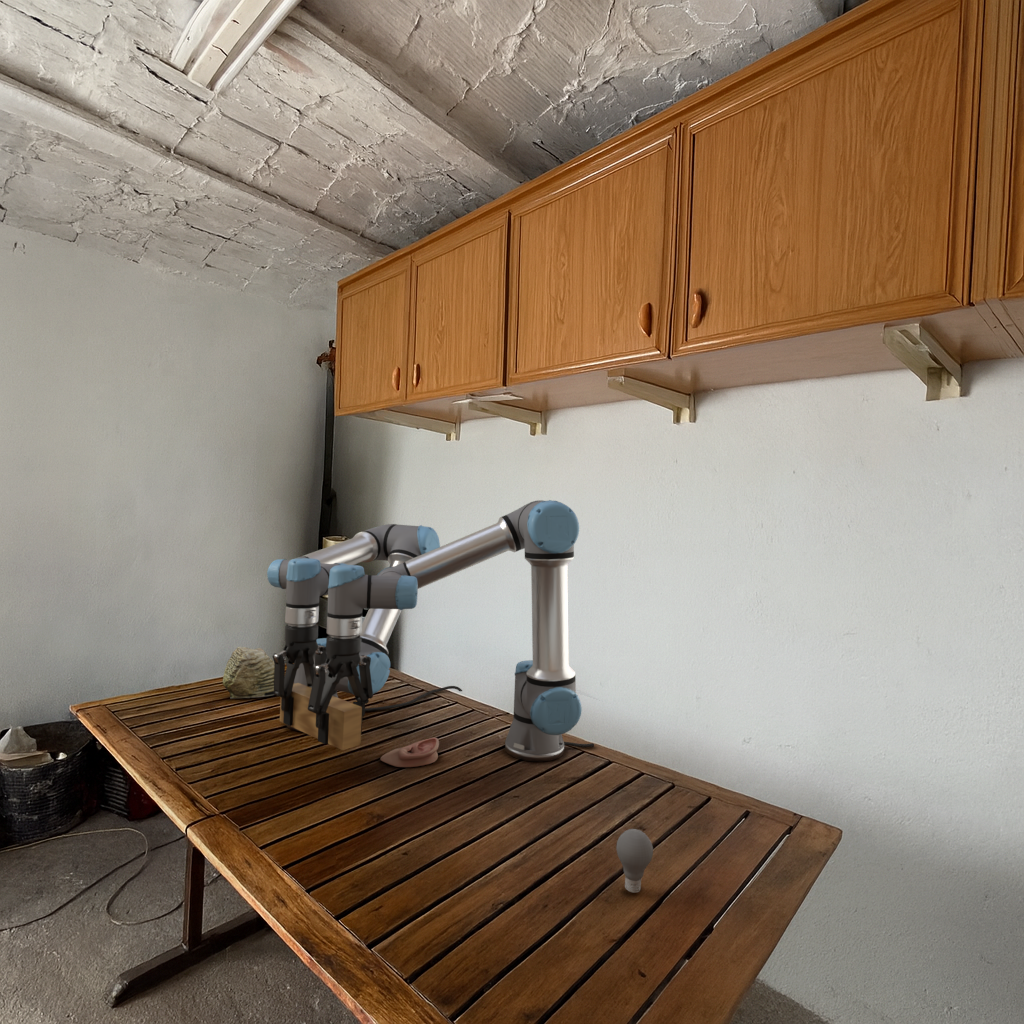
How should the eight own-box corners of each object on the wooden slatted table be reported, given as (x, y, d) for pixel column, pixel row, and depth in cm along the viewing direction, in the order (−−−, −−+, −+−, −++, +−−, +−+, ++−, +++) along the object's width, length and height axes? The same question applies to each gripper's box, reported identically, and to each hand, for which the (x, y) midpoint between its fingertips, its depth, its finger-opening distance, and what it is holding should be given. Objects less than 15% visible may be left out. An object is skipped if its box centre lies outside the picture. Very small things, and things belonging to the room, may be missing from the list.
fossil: (218, 695, 195) (220, 647, 195) (278, 685, 208) (279, 640, 207) (228, 703, 189) (230, 653, 188) (289, 692, 201) (290, 645, 201)
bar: (279, 721, 152) (280, 686, 152) (297, 716, 156) (298, 682, 155) (342, 750, 136) (344, 711, 136) (360, 744, 140) (362, 706, 140)
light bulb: (610, 879, 108) (613, 822, 108) (644, 879, 109) (647, 822, 109) (619, 902, 102) (622, 840, 102) (655, 901, 103) (658, 840, 103)
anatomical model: (375, 747, 151) (394, 730, 162) (374, 764, 151) (393, 746, 162) (428, 754, 148) (443, 736, 159) (427, 771, 148) (443, 752, 159)
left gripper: (276, 631, 141) (272, 735, 142) (342, 621, 155) (339, 716, 156) (258, 626, 146) (254, 726, 146) (324, 617, 160) (321, 708, 160)
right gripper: (312, 645, 130) (308, 755, 130) (392, 631, 146) (388, 729, 147) (292, 639, 134) (288, 745, 135) (371, 626, 151) (367, 720, 151)
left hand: (298, 720), depth 151 cm, fingers closed on bar, 5 cm apart
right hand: (340, 736), depth 141 cm, fingers open, 8 cm apart
